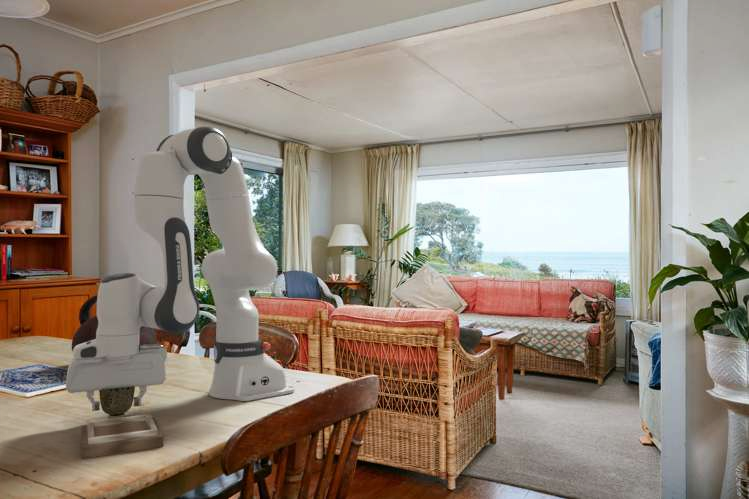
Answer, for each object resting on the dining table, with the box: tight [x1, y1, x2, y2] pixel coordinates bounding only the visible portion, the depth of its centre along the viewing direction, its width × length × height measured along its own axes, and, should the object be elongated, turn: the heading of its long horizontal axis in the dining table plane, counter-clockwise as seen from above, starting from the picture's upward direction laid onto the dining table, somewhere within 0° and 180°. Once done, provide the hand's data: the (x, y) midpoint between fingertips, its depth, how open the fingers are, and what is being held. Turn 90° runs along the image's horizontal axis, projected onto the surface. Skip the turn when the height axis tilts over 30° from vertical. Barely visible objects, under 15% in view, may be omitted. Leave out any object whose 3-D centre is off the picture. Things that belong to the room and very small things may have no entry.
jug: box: [71, 294, 157, 352], centre depth 180 cm, size 25×25×25 cm
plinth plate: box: [80, 413, 165, 459], centre depth 109 cm, size 14×14×3 cm
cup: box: [98, 386, 136, 419], centre depth 122 cm, size 8×7×8 cm
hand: (116, 408), depth 122 cm, fingers closed on cup, 7 cm apart
